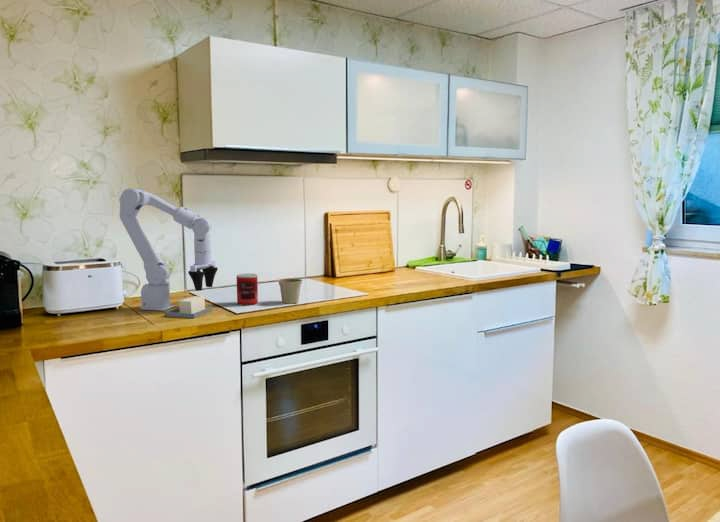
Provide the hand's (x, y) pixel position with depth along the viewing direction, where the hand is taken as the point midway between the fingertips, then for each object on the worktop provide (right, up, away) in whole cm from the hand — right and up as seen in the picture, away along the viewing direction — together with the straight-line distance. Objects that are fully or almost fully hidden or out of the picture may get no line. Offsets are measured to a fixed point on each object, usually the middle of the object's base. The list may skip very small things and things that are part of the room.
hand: (204, 288), depth 203 cm
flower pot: (+30, -6, +11) cm, 33 cm away
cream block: (-1, -5, -3) cm, 6 cm away
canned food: (+14, -6, +8) cm, 18 cm away
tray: (-3, -8, -9) cm, 13 cm away
